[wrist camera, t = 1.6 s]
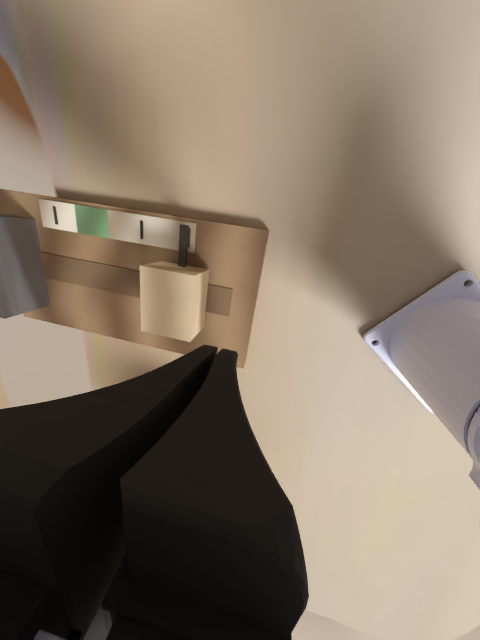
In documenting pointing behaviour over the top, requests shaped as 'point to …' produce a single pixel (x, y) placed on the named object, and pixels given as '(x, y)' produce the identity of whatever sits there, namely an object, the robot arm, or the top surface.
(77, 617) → the robot arm
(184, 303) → the gauge slider
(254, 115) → the top surface
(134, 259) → the gauge base
